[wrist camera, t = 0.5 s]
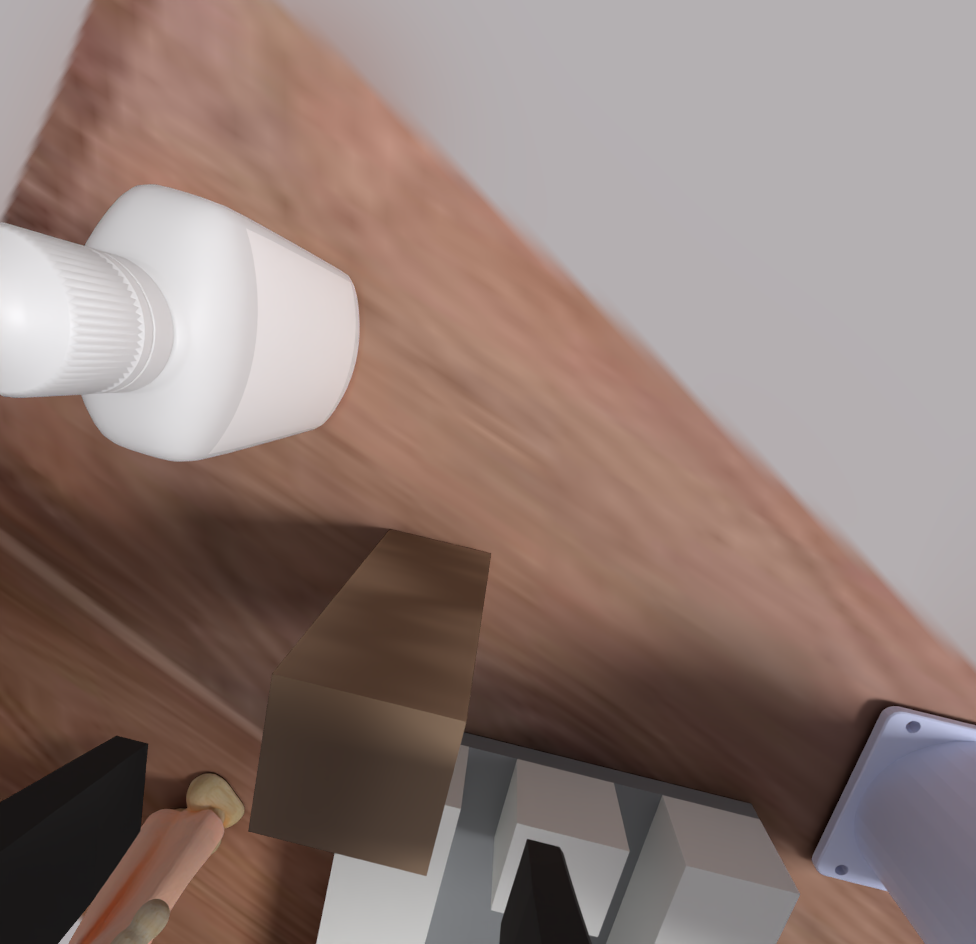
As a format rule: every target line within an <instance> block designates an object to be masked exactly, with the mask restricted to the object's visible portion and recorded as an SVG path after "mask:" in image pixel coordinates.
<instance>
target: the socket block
mask: <svg viewBox="0 0 976 944" xmlns="http://www.w3.org/2000/svg"><path fill="white" fill-rule="evenodd" d="M527 839H530V840H534V841H538V842H542V843H546V844H550V845H554V846H558V847H560V848H561V850H562V852H563V853H564V857H565V860H566V864H567V867H568V871H569V874H570V877H571V881H572V884H573V887H574V890H575V894H576V897H577V900H578V903H579V906H580V909H581V912H582V916H583V918H584V921H585V924H586V927H587V930H588V933H589V936H590V939H591V942H592V944H776V943H777V941H778V939H779V937H780V935H781V933H782V931H783V929H784V927H785V925H786V922H787V920H788V918H789V916H790V914H791V912H792V910H793V908H794V906H795V904H796V902H797V900H798V898H799V896H800V893H799V891H798V889H797V887H796V886H795V884H794V882H793V880H792V878H791V876H790V874H789V873H788V871H787V869H786V867H785V865H784V863H783V862H782V860H781V858H780V856H779V854H778V852H777V850H776V849H775V847H774V845H773V843H772V841H771V839H770V837H769V836H768V834H767V832H766V830H765V828H764V826H763V824H762V823H761V821H760V819H759V817H758V815H757V813H756V811H755V810H754V808H753V806H752V804H750V803H746V802H742V801H738V800H734V799H730V798H726V797H722V796H718V795H714V794H710V793H706V792H702V791H698V790H694V789H690V788H686V787H682V786H678V785H674V784H669V783H665V782H661V781H657V780H653V779H649V778H645V777H641V776H637V775H633V774H629V773H625V772H621V771H617V770H613V769H609V768H605V767H601V766H597V765H593V764H589V763H585V762H581V761H577V760H573V759H569V758H565V757H561V756H557V755H553V754H549V753H545V752H541V751H537V750H533V749H529V748H525V747H521V746H517V745H513V744H509V743H505V742H501V741H497V740H493V739H489V738H485V737H481V736H477V735H473V734H469V733H465V732H464V733H463V737H462V741H461V745H460V748H459V752H458V756H457V760H456V764H455V768H454V772H453V775H452V779H451V783H450V787H449V791H448V795H447V799H446V803H445V806H444V810H443V814H442V818H441V822H440V826H439V830H438V833H437V837H436V841H435V845H434V849H433V853H432V857H431V860H430V864H429V868H428V872H427V876H423V875H420V874H416V873H412V872H408V871H404V870H400V869H396V868H392V867H388V866H384V865H380V864H376V863H372V862H368V861H364V860H360V859H356V858H352V857H348V856H344V855H340V854H336V853H335V854H334V859H333V864H332V869H331V874H330V879H329V884H328V889H327V894H326V899H325V903H324V908H323V913H322V918H321V923H320V928H319V933H318V938H317V943H316V944H499V941H500V928H501V921H502V918H503V914H504V911H505V908H506V905H507V902H508V898H509V895H510V892H511V889H512V886H513V882H514V879H515V876H516V873H517V869H518V866H519V863H520V860H521V857H522V853H523V850H524V847H525V844H526V840H527Z"/></svg>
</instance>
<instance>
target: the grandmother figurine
mask: <svg viewBox="0 0 976 944" xmlns="http://www.w3.org/2000/svg"><path fill="white" fill-rule="evenodd" d="M186 802H187V808H186V809H182V808H180V809H175V810H173V809H161V810H158V811H156V812H155V813H153V814H151V815H150V816H149V817H148V818H147V819H146V821H145V822H144V824H143V825H142V827H141V830H140V833H139V834H138V836H137V837H136V839H135V840H134V842H133V843H132V845H131V846H130V848H129V849H128V851H127V852H126V854H125V855H124V857H123V858H122V859H121V861H120V862H119V864H118V865H117V867H116V868H115V870H114V871H113V873H112V874H111V876H110V877H109V878H108V880H107V881H106V883H105V884H104V885H103V887H102V888H101V890H100V891H99V893H98V894H97V896H96V897H95V899H94V901H93V902H92V904H91V906H90V908H89V909H88V911H87V913H86V914H85V916H84V918H83V920H82V921H81V923H80V925H79V926H78V928H77V930H76V932H75V933H74V935H73V936H72V938H71V940H70V942H69V944H151V942H152V940H153V938H155V937H156V936H157V935H158V934H159V933H160V932H161V931H162V929H163V928H164V927H165V925H166V924H167V922H168V919H169V915H170V911H171V909H172V908H173V906H174V905H175V903H176V901H177V900H178V898H179V897H180V895H181V894H182V892H183V891H184V889H185V888H186V886H187V885H188V883H189V882H190V880H191V879H192V878H193V876H194V875H195V874H196V873H197V871H198V870H199V869H200V868H201V866H202V865H203V864H204V863H205V862H206V860H207V859H208V857H209V856H210V855H212V854H213V853H214V852H215V851H216V850H217V848H218V847H219V845H220V843H221V838H222V837H223V834H224V828H228V827H231V826H232V825H234V824H235V823H237V822H238V821H239V820H240V819H241V818H242V816H243V814H244V806H243V804H242V802H241V801H240V799H239V798H238V796H237V795H236V794H235V793H234V791H233V790H232V788H231V787H230V786H229V784H228V783H227V782H226V781H225V780H224V779H223V778H221V777H219V776H218V775H216V774H211V773H208V774H202V775H200V776H198V777H197V778H195V779H194V780H193V781H192V782H191V784H190V786H189V788H188V791H187V795H186Z"/></svg>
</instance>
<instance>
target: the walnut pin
mask: <svg viewBox="0 0 976 944" xmlns="http://www.w3.org/2000/svg"><path fill="white" fill-rule="evenodd" d="M490 558H491V553H487V552H483V551H479V550H475V549H471V548H467V547H463V546H458V545H454V544H450V543H446V542H442V541H438V540H434V539H430V538H426V537H421V536H417V535H413V534H409V533H405V532H401V531H397V530H393V529H390V530H389V531H388V532H387V533H386V535H385V536H384V537H383V538H382V540H381V541H380V542H379V543H378V544H377V546H376V547H375V548H374V549H373V551H372V552H371V553H370V554H369V555H368V557H367V558H366V559H365V560H364V562H363V563H362V564H361V565H360V567H359V568H358V569H357V570H356V571H355V573H354V574H353V575H352V576H351V578H350V579H349V580H348V581H347V582H346V584H345V585H344V586H343V587H342V589H341V590H340V591H339V592H338V594H337V595H336V596H335V597H334V598H333V600H332V601H331V602H330V603H329V605H328V606H327V607H326V608H325V609H324V611H323V612H322V613H321V614H320V616H319V617H318V618H317V619H316V621H315V622H314V623H313V624H312V625H311V627H310V628H309V629H308V630H307V632H306V633H305V634H304V635H303V636H302V638H301V639H300V640H299V641H298V643H297V644H296V645H295V646H294V648H293V649H292V650H291V651H290V652H289V654H288V655H287V656H286V657H285V659H284V660H283V661H282V662H281V663H280V665H279V666H278V667H277V668H276V670H275V671H274V672H273V673H272V678H271V685H270V691H269V698H268V705H267V711H266V718H265V725H264V731H263V738H262V744H261V751H260V758H259V764H258V771H257V778H256V784H255V791H254V798H253V804H252V811H251V817H250V824H249V832H253V833H257V834H261V835H265V836H269V837H273V838H277V839H281V840H285V841H289V842H293V843H296V844H300V845H304V846H308V847H312V848H316V849H320V850H324V851H328V852H332V853H336V854H340V855H344V856H348V857H352V858H356V859H360V860H364V861H368V862H372V863H376V864H380V865H384V866H388V867H392V868H396V869H400V870H404V871H408V872H412V873H416V874H420V875H423V876H427V872H428V868H429V864H430V860H431V857H432V853H433V849H434V845H435V841H436V837H437V833H438V830H439V826H440V822H441V818H442V814H443V810H444V806H445V803H446V799H447V795H448V791H449V787H450V783H451V779H452V775H453V772H454V768H455V764H456V760H457V756H458V752H459V748H460V745H461V741H462V737H463V733H464V729H465V725H466V721H467V714H468V707H469V701H470V694H471V687H472V680H473V673H474V667H475V660H476V653H477V646H478V640H479V633H480V626H481V619H482V612H483V606H484V599H485V592H486V585H487V579H488V572H489V565H490Z"/></svg>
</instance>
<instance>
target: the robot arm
mask: <svg viewBox="0 0 976 944" xmlns="http://www.w3.org/2000/svg"><path fill="white" fill-rule="evenodd" d="M911 721H912V722H911ZM909 722H911V723H910V724H908V723H909ZM907 724H908V725H907ZM147 750H148V744H147V743H143V742H139V741H135V740H131V739H127V738H123V737H119V736H115V737H114V738H112V739H110V740H108V741H107V742H105V743H103V744H101V745H99V746H98V747H96V748H94V749H92V750H91V751H89V752H87V753H85V754H84V755H82V756H80V757H78V758H77V759H75V760H73V761H71V762H70V763H68V764H66V765H64V766H63V767H61V768H59V769H57V770H56V771H54V772H52V773H51V774H49V775H47V776H45V777H44V778H42V779H40V780H38V781H37V782H35V783H33V784H31V785H30V786H28V787H26V788H24V789H23V790H21V791H19V792H17V793H16V794H14V795H12V796H10V797H9V798H7V799H5V800H3V801H2V802H0V944H58V943H59V942H60V940H61V939H62V938H63V937H64V936H65V934H66V933H67V932H68V931H69V929H70V928H71V927H72V926H73V924H74V923H75V922H76V921H77V920H78V918H79V917H80V916H81V915H82V913H83V912H84V911H85V910H86V908H87V907H88V906H89V905H90V903H91V902H92V901H93V900H94V898H95V897H96V895H97V894H98V893H99V891H100V890H101V888H102V887H103V885H104V884H105V883H106V881H107V880H108V878H109V877H110V876H111V874H112V873H113V871H114V870H115V868H116V867H117V865H118V864H119V862H120V861H121V859H122V858H123V857H124V855H125V854H126V852H127V851H128V849H129V848H130V846H131V845H132V843H133V842H134V840H135V839H136V837H137V836H138V834H139V833H140V830H141V818H142V807H143V796H144V784H145V773H146V762H147ZM812 862H813V864H814V866H815V868H816V869H817V871H818V872H819V873H820V874H822V875H825V876H829V877H833V878H837V879H841V880H845V881H849V882H853V883H857V884H861V885H865V886H869V887H873V888H877V889H881V890H885V891H888V892H889V894H890V895H891V896H892V898H893V899H894V901H895V902H896V903H897V905H898V906H899V908H900V909H901V910H902V912H903V913H904V915H905V916H906V917H907V919H908V920H909V922H910V923H911V925H912V926H913V927H914V929H915V930H916V932H917V933H918V934H919V936H920V937H921V939H922V940H923V941H924V943H925V944H976V725H972V724H968V723H964V722H960V721H956V720H952V719H948V718H944V717H940V716H936V715H932V714H927V713H923V712H919V711H915V710H911V709H907V708H903V707H899V706H891V707H887V708H886V709H884V710H883V711H882V712H881V714H880V716H879V718H878V720H877V722H876V724H875V726H874V728H873V730H872V733H871V735H870V737H869V739H868V741H867V743H866V745H865V747H864V749H863V751H862V753H861V756H860V758H859V760H858V762H857V764H856V766H855V768H854V770H853V772H852V774H851V776H850V778H849V781H848V783H847V785H846V787H845V789H844V791H843V793H842V795H841V797H840V799H839V801H838V803H837V806H836V808H835V810H834V812H833V814H832V816H831V818H830V820H829V822H828V824H827V826H826V829H825V831H824V833H823V835H822V837H821V839H820V841H819V843H818V845H817V847H816V849H815V851H814V854H813V856H812ZM499 944H592V942H591V939H590V936H589V933H588V930H587V927H586V924H585V921H584V918H583V916H582V912H581V909H580V906H579V903H578V900H577V897H576V894H575V890H574V887H573V884H572V881H571V877H570V874H569V871H568V867H567V864H566V860H565V857H564V853H563V852H562V850H561V848H560V847H558V846H554V845H550V844H546V843H542V842H538V841H534V840H530V839H527V840H526V844H525V847H524V850H523V853H522V857H521V860H520V863H519V866H518V869H517V873H516V876H515V879H514V882H513V886H512V889H511V892H510V895H509V898H508V902H507V905H506V908H505V911H504V914H503V918H502V921H501V928H500V941H499Z"/></svg>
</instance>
